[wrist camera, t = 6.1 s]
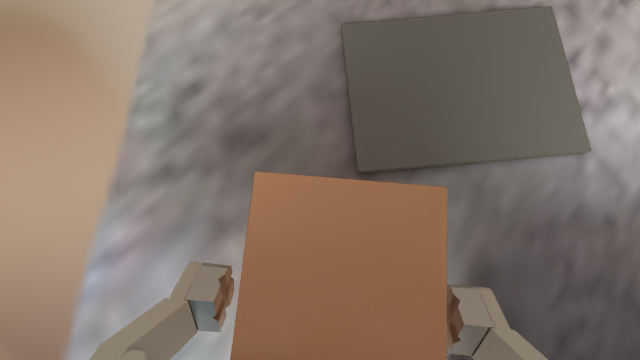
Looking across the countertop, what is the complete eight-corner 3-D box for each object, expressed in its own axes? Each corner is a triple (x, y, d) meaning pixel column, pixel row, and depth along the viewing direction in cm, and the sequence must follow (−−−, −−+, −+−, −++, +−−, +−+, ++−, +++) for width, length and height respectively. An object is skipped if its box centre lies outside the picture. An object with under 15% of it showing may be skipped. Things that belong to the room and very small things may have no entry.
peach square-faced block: (387, 213, 18) (447, 187, 9) (382, 320, 17) (446, 404, 8) (287, 204, 18) (254, 171, 10) (276, 310, 17) (227, 382, 8)
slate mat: (545, 12, 21) (551, 5, 20) (582, 153, 19) (591, 150, 18) (340, 29, 21) (341, 23, 20) (357, 173, 19) (358, 171, 18)
